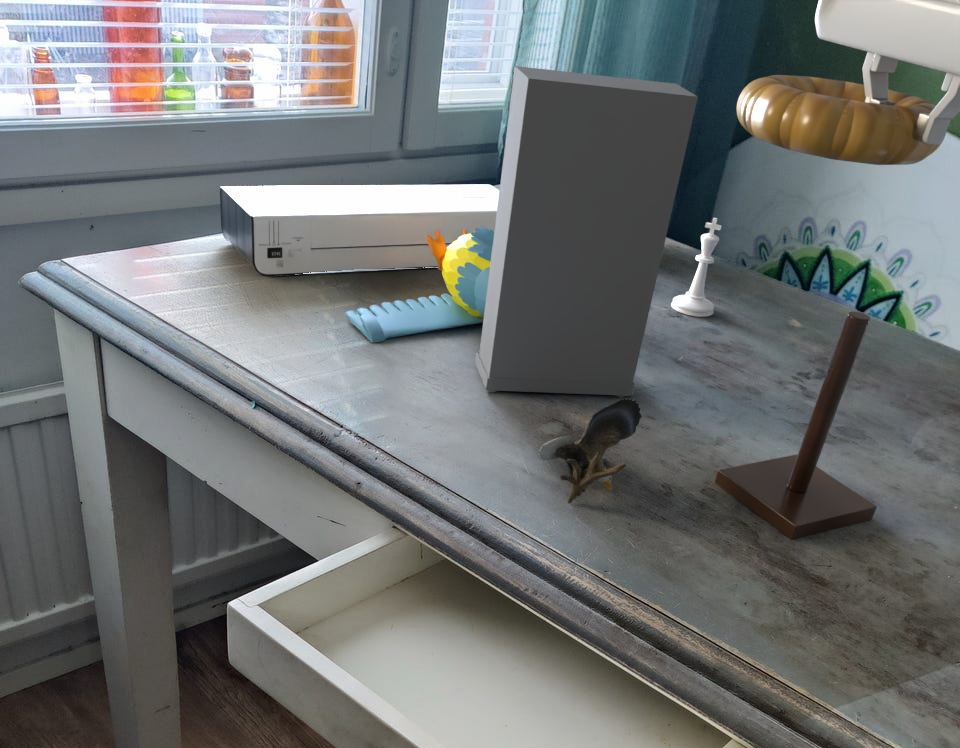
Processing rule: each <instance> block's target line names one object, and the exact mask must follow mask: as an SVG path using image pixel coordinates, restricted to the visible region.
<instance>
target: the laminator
mask: <svg viewBox="0 0 960 748" xmlns="http://www.w3.org/2000/svg"><path fill="white" fill-rule="evenodd" d="M499 191H500V188H498V187H496V186H494V185H493V184H490V183H489V184H487V183H486V184H485V183H484V184H475V183H474V184H382V185H381V184H377V185H376V184H369V185H368V184H366V185H365V184H363V185H361V184H359V185H358V184H357V185H353V184H352V185H263V186H262V185H257V186H256V185H255V186H254V185H251V186H249V185H248V186H246V185H244V186H241V185H240V186H239V185H237V186H233V185H232V186H220V187H219V204H220V206H219V207H220V228H221V233H222V236H223V237H224V239H225V240H226V241H228V242H229V243H230V244H231V245H232V246H233V247H234V249H236V251H238V253H239V254H241V256H242V257H243V258H244V259H245V260H246V261H247V262H248V264H250V266H251V267H252V268H253V270H254V271H255V272H256V273H257V274H258V275H260V276H262V277H268V278H269V277H270V278H271V277H272V278H273V277H288V276H287V275H293V276H296V275H295V274H303V273H309V272H310V273H311V272H325V271H326V272H327V271H342V270H354V269H395V268H423V267H424V268H425V267H438V264H437V260H436V258H435V256H434V255H433V253H432V251H431V248H430V246H429V244H428V241H427V238H426V237H427V235H430V236H431V237H432V238H433V239H434V240H436V231H439V232H440V234H441V235H442V237H443V239H444V242H445V245H446V248H447V247H448V246H449V245H451V244H452V243H453V242H454V241H455V240H457V239H458V238H459V237H460V236H462V235H463V230H464V229H465V230H466V231H467V234H469V233H472V232H474V233H475V232H476V231H475V229H476V228H480V227H484V228H486V229H488V230H489V231H490V230H493V231H495V223H496V215H497V207H498V199H499Z"/></svg>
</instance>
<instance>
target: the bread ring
mask: <svg viewBox="0 0 960 748" xmlns="http://www.w3.org/2000/svg"><path fill="white" fill-rule="evenodd" d="M888 99H889V100H892V101H895V102H896V103H895V105H884V104H876V103H868V102H865V100H866V96H865V90H864V84H861V83H857V82H852V81H845V80H839V79H831V78H824V77H823V78H822V77H814V76H804V75H788V74H787V75H785V74H773V75H768V76H764V77H759V78H756V79H754V80H752V81H751V82H749V83H748V84H747V85H746V86H745V87H744V88H743V89H742V91H741V92H740V94H739V96H738V98H737V101H736V116H737V119H738V122H739V123H740V125H741V126H742V127H743V129H744V130H746V131H747V132H748V133H749V134H750V135H751V136H752V137H754V138H755V139H757V140H759V141H762V142H764V143H767V144H770V145H773V146H776V147H779V148H782V149H784V150H785V149H786V150H788V151H792V152H795V153H800V154H805V155H811V156H813V157H814V156H815V157H819V158H824V159H828V160H834V161H840V162H850V163H856V164H857V163H858V164H867V165H874V166H907V165H908V166H909V165H914V164H917V163H920V162H922V161H923V160H926V158H928V157H929V156H931V155H932V154H933V153H935V152H936V151H937V150H938V149H939V148H940V147H941V145H942V144H943V142H944V139H945V138H946V134H947V132H946V133H945V136H944V138H943V140H942V142H941V143H940V144H938V145H929V144H926V143H923V142H920V141H917V140H914V138H913V131H914V129H915V128H916V127H917V124H916V123H917V120H918V117H919V115H920V113H925V114H930V113H931V112H932V110H933V109H934V108H935V107H936V106H937V104H934V103H932V102H929V101H928V100H925V99H923V98H921V97H918V96H915V95H911V94H907V93H904V92H899V91H895V90H892V89H888Z"/></svg>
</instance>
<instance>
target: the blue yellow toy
mask: <svg viewBox="0 0 960 748" xmlns="http://www.w3.org/2000/svg"><path fill="white" fill-rule="evenodd" d="M475 231H476V232H475V233H474V232H472V233H469V234H467V231H466V230H465V229H464V230H463V235H462V236H460V237H459V238H458V239H457V240H455V241H454V242H453V243H452V244H451V245H449V246H448V247H447V248H446V245H445V242H444V239H443V237H442V235H441V234H440V232H439V231H436V240H434V239H433V238H432V237H431V236H430V235H427V237H426V238H427V241H428V244H429V246H430V248H431V251H432V253H433V255H434V256H435V258H436V260H437V264H438V268H437V269H438V271H439V272H440V271H441V275H442V278H443V282H444V284H445V286H446V289H447V291H448V292H449V294H448V293H442V294H440V297H439V296H437V295H429V296H428V298H427V297H425V296H419V297H418V298H417V300H415V299H413V298H407V299H405V302H404V301H403V300H400V299H399V300H394V301H393V304H392V303H391V302H389V301H384V302H382V303H381V306H379V305H378V304H372V305H369V309H368V308H366V307H358V308H357V311H354V310H347V311H345V316H346V318H347V319H348V320H349V322H350V323H351V324H352V325H353V326H354V327H356V328H357V329H358V331H359V330H360V331H361V332H362V333H361V332H360V331H359V332H360V333H361V334H362V335H364V336H365V337H366V338H367V340H368V341H369V340H370V341H372V342H373V343H381V342H385V341H386V340H387V339H390V338H396V337H402V336H407V335H415V334H420V333H426V332H432V331H438V330H444V329H452V328H457V327H463V326H468V325H477V324H483V320H484V312H485V304H486V296H487V288H488V280H489V272H490V263H491V255H492V247H493V239H494V231H493V230H490V231H489V230H488V229H486V228H484V227H480V228H476V229H475ZM370 341H369V342H370ZM372 342H371V343H372Z"/></svg>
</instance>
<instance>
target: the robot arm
mask: <svg viewBox="0 0 960 748" xmlns="http://www.w3.org/2000/svg"><path fill="white" fill-rule="evenodd" d="M814 15H815V16H814V24H815V25H814V26H815V31H816V35H817V38H819V40H822V41H826V42H830V43H834V44H838V45H842V46H845V47H849V48H852V49H857V50H860V51H863V52H866V55H865V59H864V62H863V65H862V68H861V69H862V78H863V85H864V90H865V96H866V100H865V102H868V103H876V104H884V105H895V103H896V102H895V101H892V100H889V99H888V90H889V73H890V74H892V73H895V72H896V70H897V67H898V63H899V61H901V62H904V63H905V62H906V63H909V64H912V65H913V64H914V65H917V66H921V67H925V68H927V69H933V70H936V71H939V72H943V73H946V74H945V77H944V80H943V82H942V85H941V91H942V92H945V94H944V95H943V97H942V98H941V99H940V101H939V102H938V103H937V104H936V107H935V108H934V109H933V110H932V112H931V113H930V114H925V113H920V115H919V117H918V120H917V123H916V124H917V127H916V128H915V129H914V131H913V138H914V140H917V141H920V142H923V143H926V144H929V145H938V144H940V143H941V142H942V140H943V138H944V136H945V137H946V135H945V133H946V134H947V130H948V128H949V125H950V122H951V119H954V118H955V117H956V116H957V115H958V114H959V112H960V0H818V2H817V7H816V9H815V14H814ZM944 139H945V138H944ZM943 141H944V140H943ZM942 143H943V142H942ZM942 143H941V144H942Z"/></svg>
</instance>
